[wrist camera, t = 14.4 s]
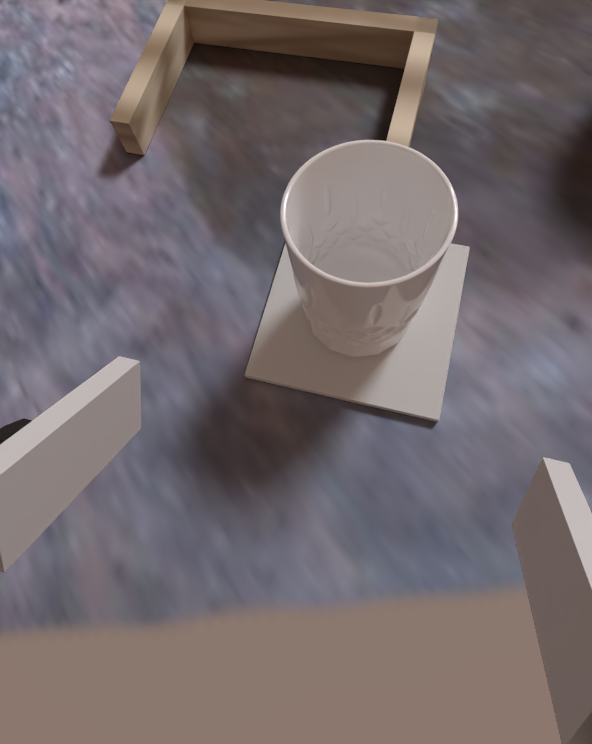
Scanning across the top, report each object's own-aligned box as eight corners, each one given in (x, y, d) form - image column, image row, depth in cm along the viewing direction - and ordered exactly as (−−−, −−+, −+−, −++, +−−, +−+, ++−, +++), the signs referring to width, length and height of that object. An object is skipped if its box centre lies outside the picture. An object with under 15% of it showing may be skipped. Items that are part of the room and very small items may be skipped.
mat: (245, 377, 31) (244, 375, 30) (294, 220, 34) (293, 216, 34) (437, 422, 29) (439, 419, 28) (467, 251, 33) (469, 246, 32)
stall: (398, 196, 34) (403, 165, 32) (126, 152, 38) (109, 120, 35) (431, 57, 38) (438, 19, 36) (183, 28, 42) (172, -10, 39)
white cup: (381, 390, 29) (402, 318, 20) (273, 328, 31) (246, 235, 22) (443, 290, 31) (489, 181, 22) (337, 237, 33) (338, 115, 24)
